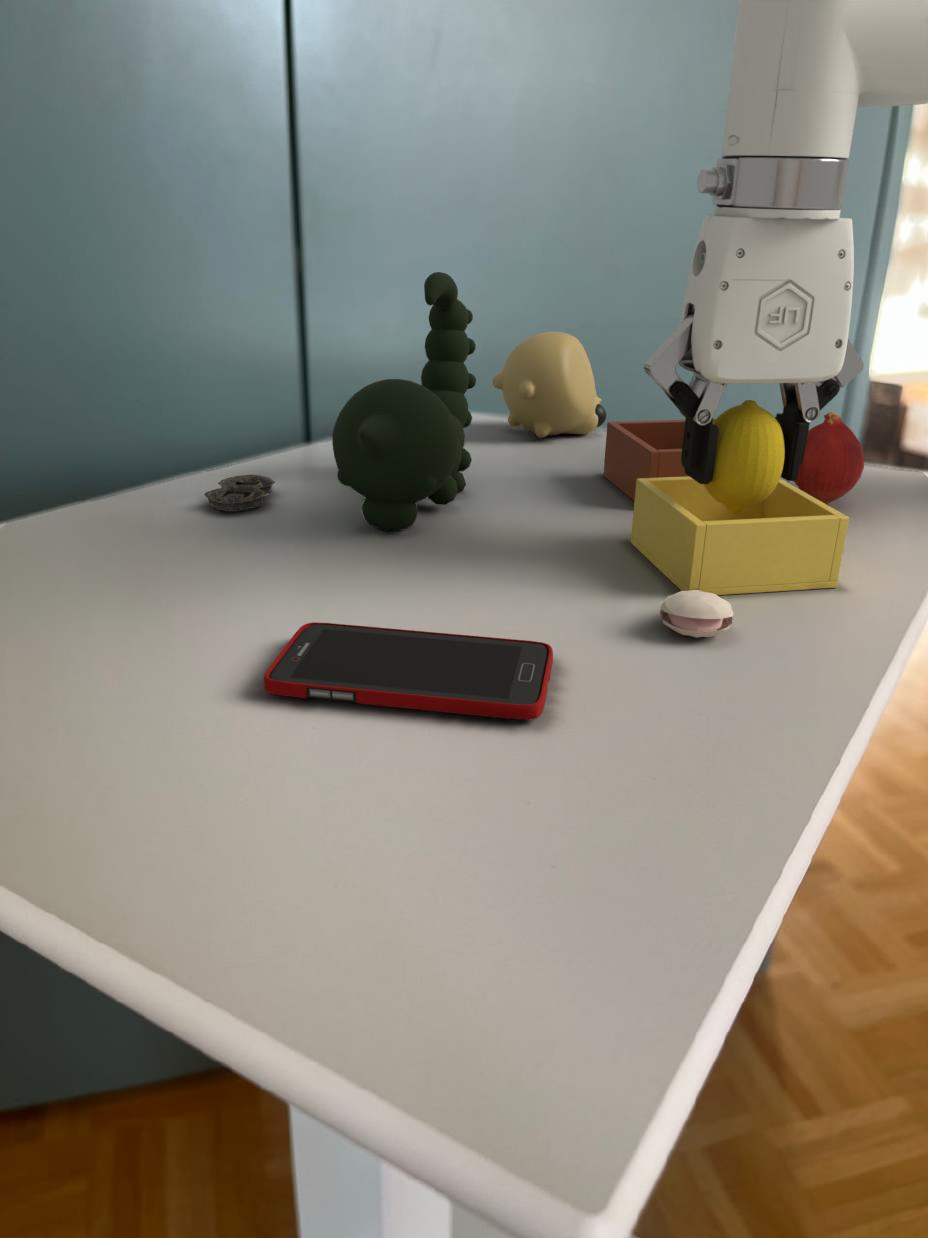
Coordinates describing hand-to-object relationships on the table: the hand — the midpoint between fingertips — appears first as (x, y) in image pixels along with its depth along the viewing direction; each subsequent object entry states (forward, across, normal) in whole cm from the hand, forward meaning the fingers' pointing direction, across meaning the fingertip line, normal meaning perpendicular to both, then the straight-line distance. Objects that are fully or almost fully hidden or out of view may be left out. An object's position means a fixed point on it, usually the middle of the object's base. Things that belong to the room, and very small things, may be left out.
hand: (740, 474), depth 69 cm
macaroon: (+7, -7, -10) cm, 14 cm away
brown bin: (+7, +4, +18) cm, 20 cm away
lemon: (+3, 0, 0) cm, 3 cm away
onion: (+7, +14, +12) cm, 20 cm away
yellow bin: (+7, 0, 0) cm, 7 cm away
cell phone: (+7, -25, -14) cm, 29 cm away
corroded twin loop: (+7, -34, +20) cm, 40 cm away
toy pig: (+7, -2, +40) cm, 41 cm away
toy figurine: (+7, -20, +17) cm, 27 cm away
